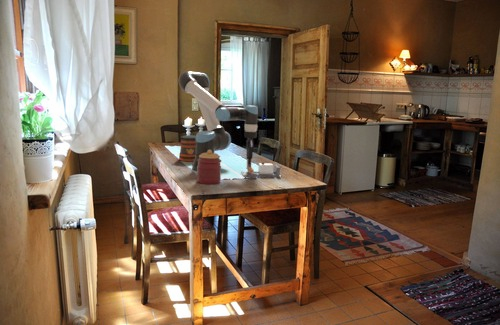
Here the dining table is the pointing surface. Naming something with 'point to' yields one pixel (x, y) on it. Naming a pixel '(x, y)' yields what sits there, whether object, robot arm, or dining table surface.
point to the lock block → (265, 169)
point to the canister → (209, 168)
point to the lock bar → (250, 169)
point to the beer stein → (188, 148)
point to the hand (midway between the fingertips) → (248, 168)
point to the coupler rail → (254, 175)
